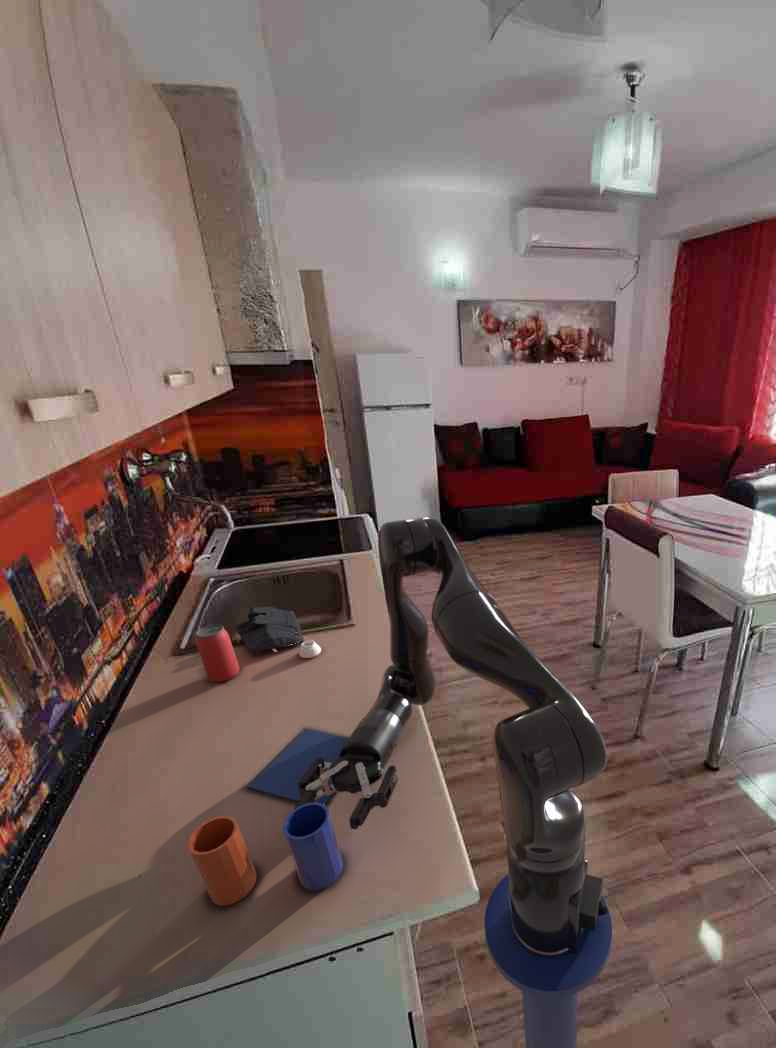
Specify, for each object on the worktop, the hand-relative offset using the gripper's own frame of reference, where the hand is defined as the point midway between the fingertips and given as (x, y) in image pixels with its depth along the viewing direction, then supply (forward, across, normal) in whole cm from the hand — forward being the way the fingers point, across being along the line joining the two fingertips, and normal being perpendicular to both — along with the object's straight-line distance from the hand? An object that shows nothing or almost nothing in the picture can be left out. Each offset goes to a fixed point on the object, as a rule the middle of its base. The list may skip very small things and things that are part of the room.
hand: (325, 821), depth 72 cm
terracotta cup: (+7, -11, +6) cm, 15 cm away
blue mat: (-15, -12, +6) cm, 20 cm away
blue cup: (+3, 0, +6) cm, 7 cm away
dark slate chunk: (-56, -49, +6) cm, 75 cm away
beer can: (-38, -48, +6) cm, 62 cm away
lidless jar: (-49, -33, +6) cm, 59 cm away
